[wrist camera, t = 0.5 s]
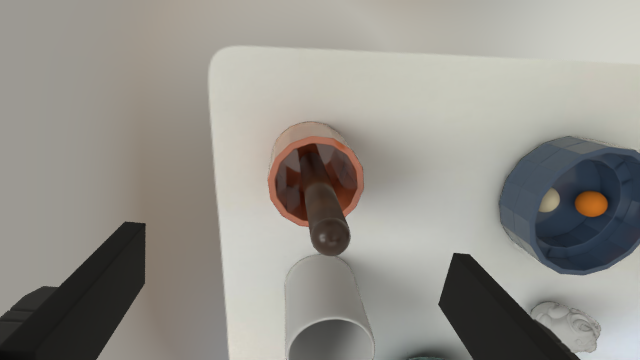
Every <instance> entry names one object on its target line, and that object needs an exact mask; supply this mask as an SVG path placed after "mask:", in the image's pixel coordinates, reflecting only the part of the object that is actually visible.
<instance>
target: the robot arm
mask: <svg viewBox="0 0 640 360" xmlns="http://www.w3.org/2000/svg"><path fill="white" fill-rule="evenodd" d="M145 226H146V224H145V223H135V222H124V223H123V224H122V225H121V226H120V227H119V228H118V229H117V230H116V231H115V232H114V233H113V234H112V235H111V236H110V237H109V238H108V239H107V240H106V241H105V242H104V243H103V244H102V245H101V246H100V247H99V248H98V249H97V250H96V251H95V252H94V253H93V254H92V255H91V256H90V257H89V258H88V259H87V260H86V261H85V262H84V263H83V264H82V265H81V266H80V267H79V268H78V269H77V270H76V271H75V272H74V273H73V274H72V275H71V276H70V277H69V278H68V279H67V280H66V281H64V283H62V284H61V286H59V287H48V286H43V287H41V288H39V289H37V290H35V291H33V292H31V293H29V294H27V295H25V296H24V297H23V298H22V299H21V300H19V301H18V302H17V303H16V304H15V305H14V306H13V307H12V308H11V309H10V311H7V312H6V313H5V314H4V315H3V316H1V317H0V360H96V359H97V358H98V356H99V355H100V353H101V351H102V350H103V348H104V347H105V345H106V344H107V342H108V340H109V339H110V337H111V336H112V334H113V333H114V331H115V329H116V328H117V326H118V325H119V323H120V322H121V320H122V318H123V317H124V315H125V314H126V312H127V310H128V309H129V307H130V306H131V304H132V303H133V301H134V299H135V298H136V296H137V295H138V293H139V292H140V290H141V289H142V287H143V285H144V284H145ZM438 305H439V307H440V308H441V310H442V311H443V313H444V314H445V316H446V318H447V319H448V321H449V322H450V324H451V325H452V327H453V328H454V330H455V332H456V333H457V335H458V336H459V338H460V339H461V341H462V342H463V344H464V346H465V347H466V349H467V350H468V352H469V353H470V355H471V356H472V358H473V360H580V359H579V358H578V357H577V356H576V355H575V354H574V353H573V352H571V350H570V349H569V348H568V347H567V346H566V345H565V344H564V343H562V341H561V340H560V339H559V338H558V337H557V336H556V335H555V334H554V333H553V332H552V331H551V330H550V329H549V328H547V327H546V326H544V325H543V324H541V323H540V322H538V321H537V320H536V319H532V318H531V317H530V316H529V315H528V314H527V313H526V312H525V311H524V310H523V309H522V308H521V307H520V306H519V304H518V303H517V302H516V301H515V300H514V299H513V298H512V297H511V296H510V295H509V294H508V293H507V292H506V291H505V290H504V289H503V288H502V287H501V286H500V285H499V284H498V283H497V282H496V281H495V280H494V279H493V278H492V277H491V276H490V275H489V274H488V273H487V272H486V271H485V270H484V269H483V268H482V267H481V266H480V265H479V264H478V263H477V262H476V260H475V259H474V258H473V257H472V256H471V255H470V254H460V253H453V257H452V260H451V264H450V267H449V270H448V274H447V277H446V280H445V284H444V287H443V291H442V294H441V297H440V301H439V304H438Z"/></svg>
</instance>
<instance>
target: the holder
mask: <svg viewBox="0 0 640 360" xmlns="http://www.w3.org/2000/svg"><path fill="white" fill-rule="evenodd" d="M307 153H316V154H318V155H319V156H320V157H321V159H322V161H323V163H324V166H325V168H326V171H327V173H328V176H329V179H330V181H331V184H332V186H333V189H334V191H335V194H336V196H337V199H338V202H339V204H340V207H341V209H342V212H343V214H344V217H346V216H347V215H348V214H349V213H350V212H351V211H352V210H353V209H354V208H355V207H356V206H357V203H358V201H359V199H360V196H361V194H362V192H363V188H364V180H363V168H362V166H361V164H360V162H359V161H358V159H357V157H356V155H355V154H354V152H353V150H352V149H351V148H350V147H349V145H348V144H347V143H346V141H345V140H344V139H343V138H342V136H341V135H340V134H339V133H338V132H336V131H335V130H334V129H332V128H331V127H329V126H327V125H326V124H322V123H317V122H303V123H299V124H296V125H294V126H292V127H290V128H288V129H287V130H286V131H285V132H284V133H282V135H281V136H280V137H279V138H278V139H277V141H276V143H275V145H274V148H273V152H272V154H271V159H270V166H269V173H268V186H269V193H270V199H271V201H272V202H273V204H274V205H275V207H276V208H277V209H278V211H279V212H280V214H281V215H282V216H283V217H285V218H287V219H288V220H290V221H292V222H294V223H296V224H297V225H299V226H306V227H309V223H308V217H307V210H306V204H305V197H304V191H303V184H302V177H301V171H300V160H301V158H302V157H303V156H304V155H305V154H307Z"/></svg>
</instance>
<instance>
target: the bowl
mask: <svg viewBox="0 0 640 360" xmlns="http://www.w3.org/2000/svg"><path fill="white" fill-rule="evenodd" d="M551 187H552V188H554V189H555V190H556V191H557V192H558V194H559V197H560V202H559V205H558V206H557V207H556V208H555V209H554V210H552V211H550V212H539V211H538V210H539V208H540V205H541V202H542V199H543V197H544V196H545V194H546V193H547V192H548V191H549V189H550V188H551ZM585 191H596V192H599V193H601V194H602V195H604V196H605V198H606V199H607V202H608V207H607V209H606V211H605V212H604V213H603V214H601V215H599V216H596V217H588V216H584V215H582V214H581V213H579V212H578V210H577V209H576V207H575V200H576V198H577V196H578V195H579V194H581V193H582V192H585ZM499 205H500V216H501V224H502V226H503V227H504V229H505V230H506V232H507V233H508V235H509V237H510V238H511V240H512V241H514V242H515V243H516V244H518V245H519V246H520V247H521V248H523V249H524V250H525V251H527V252H528V253H529V254H530V255H532V256H533V257H534V258H536V259H537V260H538V261H539V262H541V263H542V264H544V265H545V266H547V267H549V268H551V269H553V270H554V271H556V272H558V273H560V274H571V275H587V274H591V273H594V272H598V271H601V270H605V269H608V268H610V267H611V266H613V265H614V264H616V263H617V262H619V261H621V260H622V259H624V258H625V257H627V256H628V255H630V254H631V253H632V252H633V251H634V250H635V249H636V248H637V247H638V245H639V244H640V153H638V152H637V151H636V150H633V149H629V148H625V147H621V146H617V145H613V144H609V143H605V142H601V141H597V140H593V139H587V138H580V137H572V136H567V137H564V138H560V139H556V140H553V141H549V142H546V143H543V144H542V145H540V146H539V147H538V148H536V149H535V150H533V151H532V152H530V153H529V154H528V155H526V156H525V157H523V158H522V159H521V160H520V162H519V163H518V164H517V166H516V167H515V168H514V170H513V171H512V172H511V174H510V175H509V176H508V178H507V179H506V182H505V185H504V188H503V191H502V195H501V198H500V201H499Z"/></svg>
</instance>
